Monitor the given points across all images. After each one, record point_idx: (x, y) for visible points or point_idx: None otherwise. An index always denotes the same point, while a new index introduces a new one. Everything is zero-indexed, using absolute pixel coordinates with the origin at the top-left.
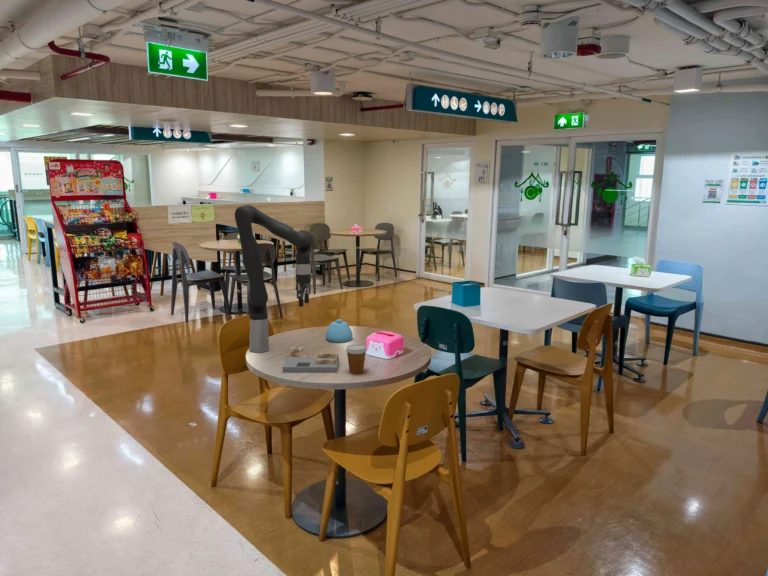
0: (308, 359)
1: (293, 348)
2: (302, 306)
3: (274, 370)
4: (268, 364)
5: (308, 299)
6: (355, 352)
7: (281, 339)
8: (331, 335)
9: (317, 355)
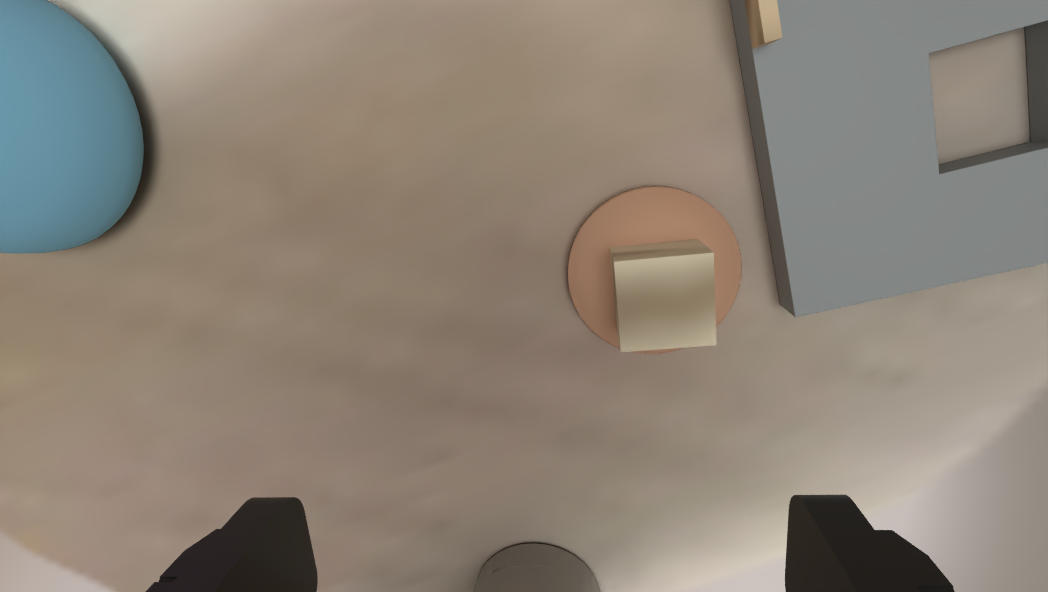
0: (831, 113)
1: (690, 326)
2: (837, 504)
3: (1005, 325)
4: (857, 423)
5: (229, 573)
6: None
7: None
8: (106, 162)
9: (777, 39)
